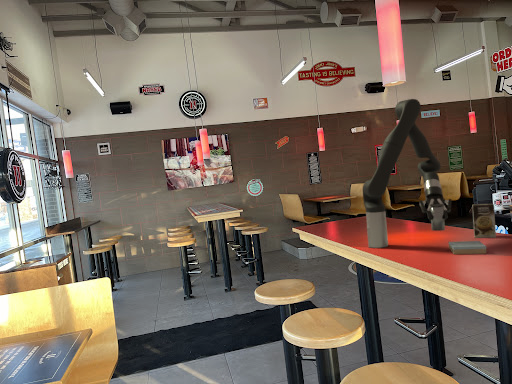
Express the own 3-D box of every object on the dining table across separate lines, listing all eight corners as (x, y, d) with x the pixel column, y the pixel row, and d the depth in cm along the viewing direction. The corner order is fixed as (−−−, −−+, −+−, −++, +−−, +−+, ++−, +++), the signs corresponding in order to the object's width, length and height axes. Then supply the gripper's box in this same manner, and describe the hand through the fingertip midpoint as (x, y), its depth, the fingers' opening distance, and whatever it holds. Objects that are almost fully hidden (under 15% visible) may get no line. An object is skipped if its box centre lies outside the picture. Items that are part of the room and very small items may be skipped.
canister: (432, 230, 170) (430, 204, 169) (430, 228, 175) (429, 203, 175) (446, 230, 168) (444, 204, 168) (443, 228, 173) (442, 203, 173)
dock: (453, 254, 156) (453, 247, 156) (448, 248, 168) (448, 241, 168) (486, 253, 153) (486, 246, 153) (479, 247, 164) (478, 240, 164)
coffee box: (474, 238, 185) (472, 205, 185) (474, 235, 191) (471, 204, 190) (496, 237, 181) (494, 204, 181) (495, 235, 187) (492, 203, 186)
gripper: (417, 186, 180) (421, 214, 169) (450, 184, 176) (456, 213, 165) (416, 196, 185) (420, 224, 174) (449, 195, 181) (455, 223, 170)
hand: (438, 218), depth 170 cm, fingers closed on canister, 5 cm apart
